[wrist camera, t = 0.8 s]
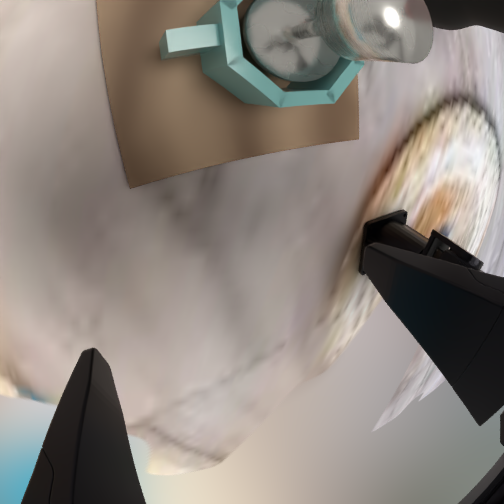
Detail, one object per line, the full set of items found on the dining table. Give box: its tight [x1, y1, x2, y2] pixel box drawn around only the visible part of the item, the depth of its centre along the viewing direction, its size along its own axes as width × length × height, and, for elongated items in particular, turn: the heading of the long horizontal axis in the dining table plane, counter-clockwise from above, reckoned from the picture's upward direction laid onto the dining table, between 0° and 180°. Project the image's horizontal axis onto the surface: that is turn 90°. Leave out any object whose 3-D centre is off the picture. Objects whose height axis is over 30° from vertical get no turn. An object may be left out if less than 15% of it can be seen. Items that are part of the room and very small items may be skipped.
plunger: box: [243, 0, 433, 82], centre depth 9 cm, size 6×6×8 cm
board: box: [96, 0, 359, 189], centre depth 16 cm, size 18×14×1 cm
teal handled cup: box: [159, 0, 364, 108], centre depth 13 cm, size 11×8×5 cm
